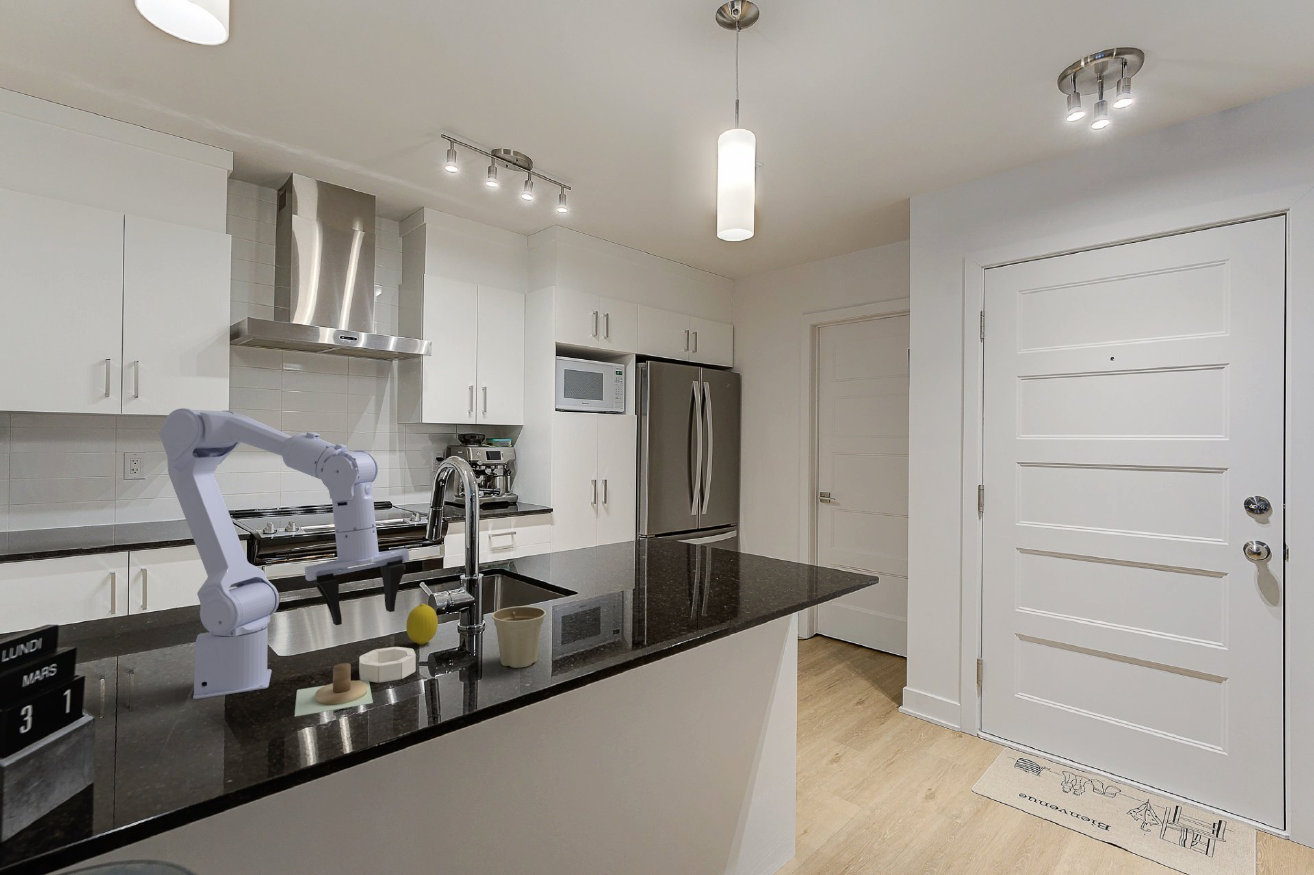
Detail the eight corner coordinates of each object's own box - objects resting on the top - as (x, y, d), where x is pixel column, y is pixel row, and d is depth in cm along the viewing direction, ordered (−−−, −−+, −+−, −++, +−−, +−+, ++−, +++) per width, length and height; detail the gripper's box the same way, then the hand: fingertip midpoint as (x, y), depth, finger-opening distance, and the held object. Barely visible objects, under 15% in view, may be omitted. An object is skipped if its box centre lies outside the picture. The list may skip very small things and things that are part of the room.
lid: (315, 708, 90) (315, 678, 90) (315, 690, 96) (315, 662, 96) (368, 699, 93) (368, 670, 93) (365, 682, 99) (366, 655, 99)
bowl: (361, 687, 98) (361, 668, 98) (358, 669, 106) (358, 651, 106) (417, 678, 102) (417, 660, 102) (411, 661, 110) (411, 644, 110)
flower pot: (480, 662, 110) (481, 613, 110) (525, 649, 117) (525, 603, 117) (511, 676, 104) (511, 624, 104) (556, 662, 111) (557, 613, 111)
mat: (294, 719, 87) (294, 716, 87) (297, 692, 96) (297, 690, 96) (372, 705, 92) (372, 702, 92) (368, 681, 101) (368, 678, 101)
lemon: (427, 652, 115) (427, 608, 115) (399, 649, 116) (400, 606, 116) (443, 642, 120) (443, 600, 120) (417, 639, 121) (417, 598, 121)
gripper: (309, 539, 88) (318, 634, 88) (412, 522, 98) (421, 608, 98) (298, 536, 94) (307, 626, 94) (397, 521, 103) (405, 603, 103)
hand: (364, 617), depth 96 cm, fingers open, 7 cm apart
